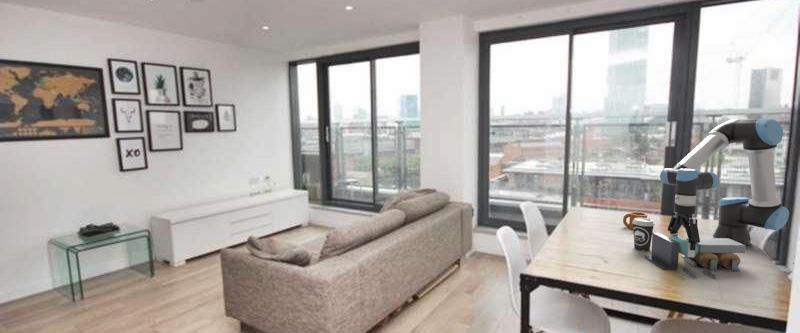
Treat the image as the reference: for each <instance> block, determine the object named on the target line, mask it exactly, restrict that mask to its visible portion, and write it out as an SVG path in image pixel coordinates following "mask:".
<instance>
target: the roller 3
mask: <svg viewBox="0 0 800 333" xmlns="http://www.w3.org/2000/svg"><path fill="white" fill-rule="evenodd" d="M713 254H715V255H716V256H717V257H718V259H719V263H718V265H719V266H722V267H725V269H730V259H738V260H739V263H738V266H740V264H741V258H740V256H739V255H737V253H713Z"/></svg>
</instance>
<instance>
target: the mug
mask: <svg viewBox="0 0 800 333" xmlns="http://www.w3.org/2000/svg"><path fill="white" fill-rule="evenodd" d="M628 218H629V223H628V222H627V219H628ZM634 218H648V213H645V212H639V211H631V212H629V213H626V214H625V215H624V216H623V218H622V222H623V225H624V226H625V227H626V228H629V229H630V230H633V231H634V229H633V223H632V222H633V220H634Z"/></svg>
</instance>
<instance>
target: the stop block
mask: <svg viewBox="0 0 800 333" xmlns="http://www.w3.org/2000/svg"><path fill="white" fill-rule="evenodd" d="M669 237H670V236H667V235H665V234H663V233H660V232H652V239H651V255H644V257H643V258H644V259H646V260H647V261H649V262H650V263H652V264H653V265H655V266H656V267H658V268H659V269H661V270H662V271H665V270H666V271H678V268H679V258H680V257H679V255H680V253H679V242H677V241H675V240H673V239H671V238H669Z"/></svg>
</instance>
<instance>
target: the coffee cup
mask: <svg viewBox="0 0 800 333" xmlns="http://www.w3.org/2000/svg"><path fill="white" fill-rule="evenodd" d="M632 223H633V229H634V230H633V229H632V230H633V246H634V249H635V250H637V251H639V252H640V251H641V252H649V251H650V250H651V246H652V233H654V232H653V231H654V227H655V225H656V224H655V221H654V220H653V219H651V218H648V217H647V218H634V220H633V222H632Z"/></svg>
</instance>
